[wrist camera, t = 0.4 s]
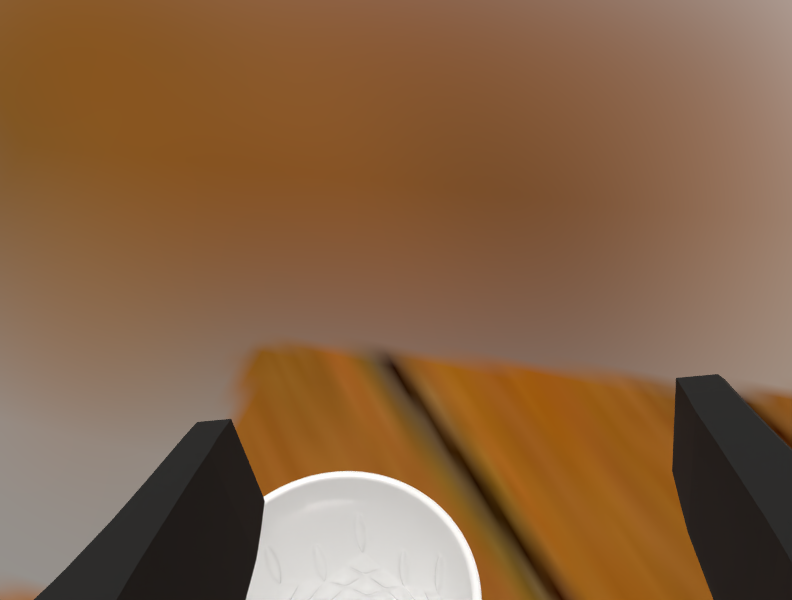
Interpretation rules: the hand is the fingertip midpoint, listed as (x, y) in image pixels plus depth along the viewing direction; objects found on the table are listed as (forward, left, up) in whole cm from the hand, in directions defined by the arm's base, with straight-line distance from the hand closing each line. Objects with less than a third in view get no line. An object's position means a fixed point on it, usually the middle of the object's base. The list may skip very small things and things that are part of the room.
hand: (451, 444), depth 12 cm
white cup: (+2, +3, -20) cm, 20 cm away
